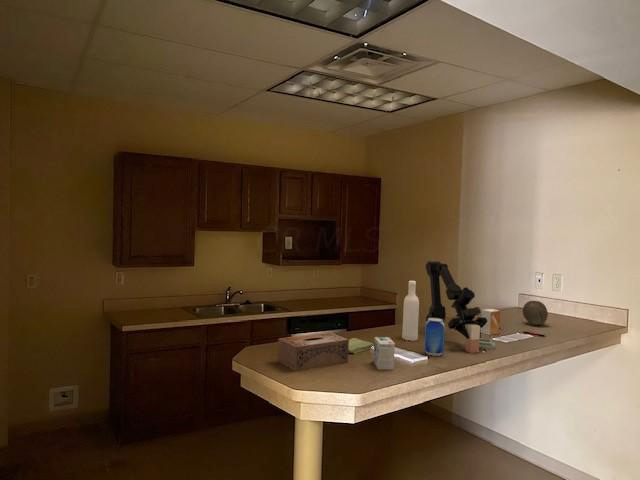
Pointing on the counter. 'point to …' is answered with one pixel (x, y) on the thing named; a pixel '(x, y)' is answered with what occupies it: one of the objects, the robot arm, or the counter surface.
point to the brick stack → (472, 338)
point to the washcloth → (358, 346)
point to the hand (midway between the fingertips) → (474, 338)
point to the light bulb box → (384, 353)
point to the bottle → (410, 314)
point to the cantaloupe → (535, 312)
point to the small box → (491, 321)
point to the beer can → (434, 337)
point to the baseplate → (486, 343)
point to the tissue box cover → (312, 351)
